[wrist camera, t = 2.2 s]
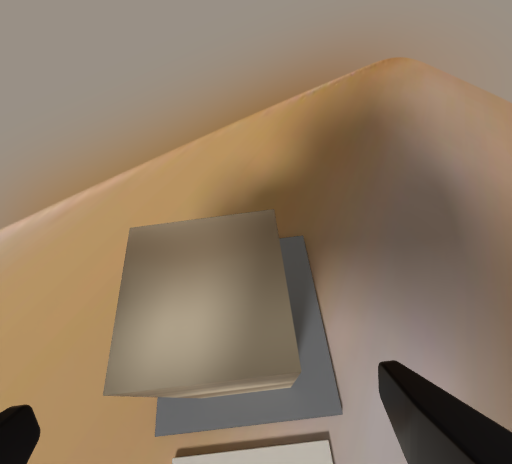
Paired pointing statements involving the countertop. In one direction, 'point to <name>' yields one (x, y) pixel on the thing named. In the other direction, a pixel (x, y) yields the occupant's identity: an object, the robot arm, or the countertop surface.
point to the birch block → (203, 311)
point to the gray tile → (279, 400)
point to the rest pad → (267, 455)
